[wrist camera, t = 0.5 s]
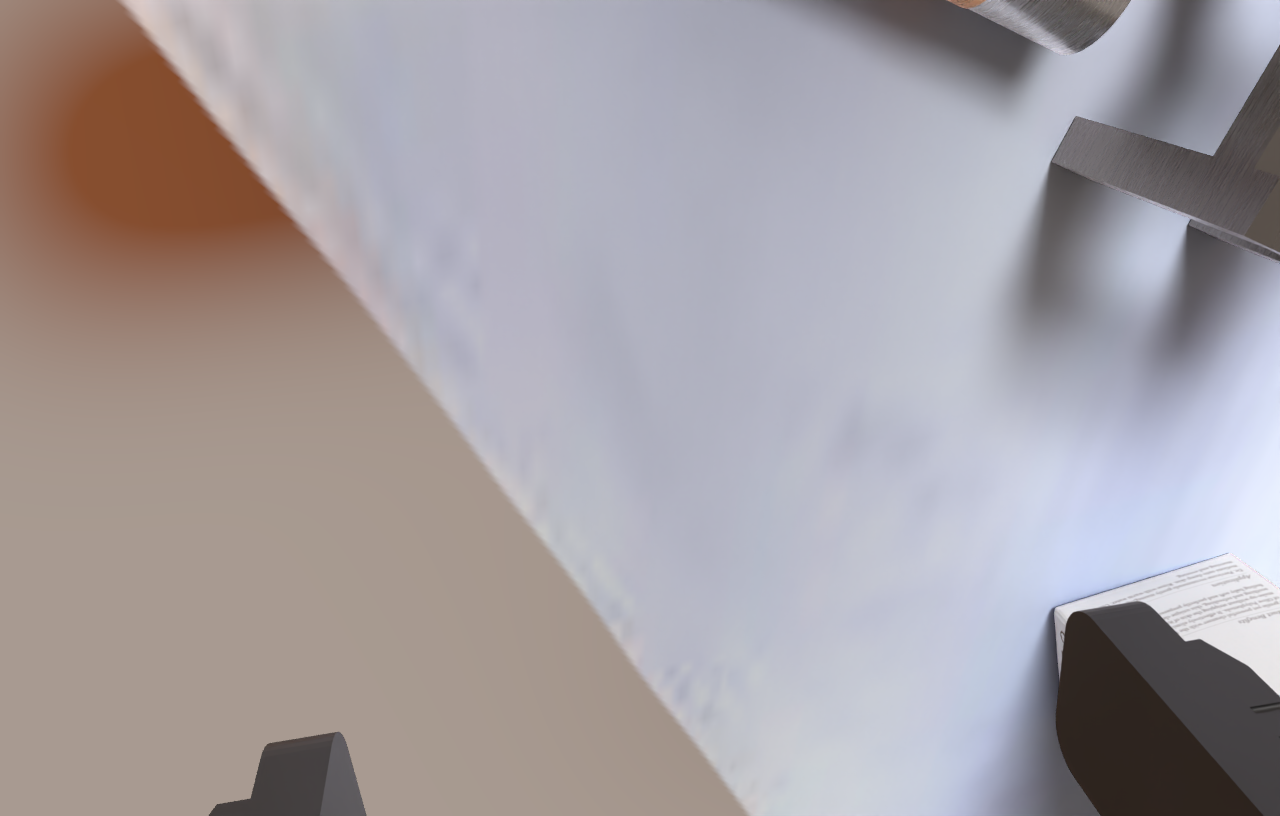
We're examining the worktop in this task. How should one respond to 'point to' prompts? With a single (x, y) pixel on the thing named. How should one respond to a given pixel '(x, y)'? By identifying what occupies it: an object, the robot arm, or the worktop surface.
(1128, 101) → the worktop surface
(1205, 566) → the skincare box
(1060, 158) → the frame
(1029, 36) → the silver cosmetic tube
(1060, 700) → the robot arm
